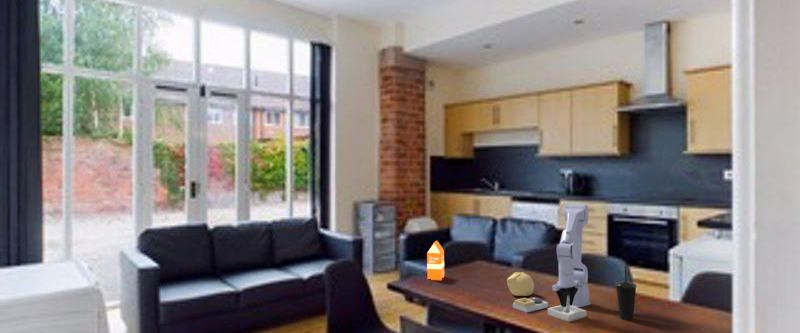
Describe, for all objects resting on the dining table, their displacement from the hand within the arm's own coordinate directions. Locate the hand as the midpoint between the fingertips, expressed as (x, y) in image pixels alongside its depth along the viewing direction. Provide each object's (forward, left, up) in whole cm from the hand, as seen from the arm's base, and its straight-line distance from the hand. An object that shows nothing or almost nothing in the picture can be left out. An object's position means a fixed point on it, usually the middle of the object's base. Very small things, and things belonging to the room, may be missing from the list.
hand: (566, 305), depth 191 cm
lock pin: (0, 0, -2) cm, 3 cm away
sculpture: (-6, -32, -4) cm, 33 cm away
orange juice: (+9, -81, -4) cm, 82 cm away
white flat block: (+4, -16, -4) cm, 17 cm away
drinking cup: (-17, +15, -4) cm, 23 cm away
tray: (0, 0, -4) cm, 4 cm away
